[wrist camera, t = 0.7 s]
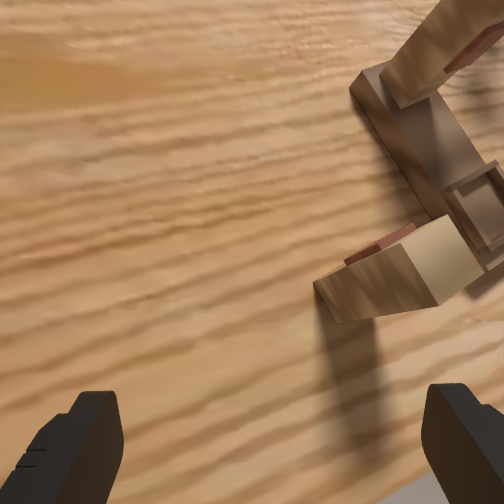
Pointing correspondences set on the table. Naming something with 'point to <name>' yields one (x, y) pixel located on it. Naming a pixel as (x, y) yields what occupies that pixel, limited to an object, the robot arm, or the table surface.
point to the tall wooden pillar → (400, 273)
